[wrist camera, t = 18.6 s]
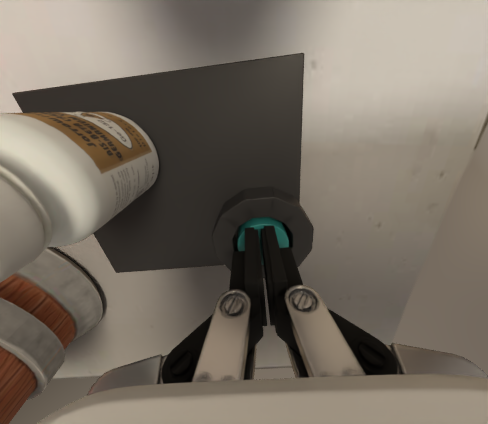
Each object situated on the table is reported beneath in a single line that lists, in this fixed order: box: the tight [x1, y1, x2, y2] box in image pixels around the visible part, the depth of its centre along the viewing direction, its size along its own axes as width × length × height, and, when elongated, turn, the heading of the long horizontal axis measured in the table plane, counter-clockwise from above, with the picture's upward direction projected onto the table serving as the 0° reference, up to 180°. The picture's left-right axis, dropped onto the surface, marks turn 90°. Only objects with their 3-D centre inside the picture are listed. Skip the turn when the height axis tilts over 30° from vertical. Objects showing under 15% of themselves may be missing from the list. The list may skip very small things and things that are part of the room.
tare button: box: [237, 217, 289, 265], centre depth 12 cm, size 3×3×2 cm
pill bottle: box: [0, 112, 159, 283], centre depth 7 cm, size 4×4×8 cm
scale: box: [12, 53, 313, 278], centre depth 12 cm, size 14×12×3 cm
